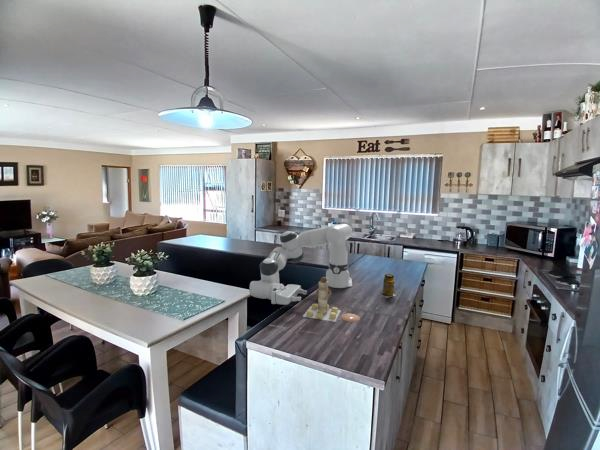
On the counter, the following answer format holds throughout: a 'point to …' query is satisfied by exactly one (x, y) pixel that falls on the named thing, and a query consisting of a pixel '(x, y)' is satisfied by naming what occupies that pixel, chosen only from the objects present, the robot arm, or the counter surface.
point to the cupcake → (328, 292)
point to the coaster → (350, 317)
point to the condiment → (388, 286)
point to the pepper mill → (322, 296)
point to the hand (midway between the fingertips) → (303, 295)
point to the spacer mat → (325, 317)
